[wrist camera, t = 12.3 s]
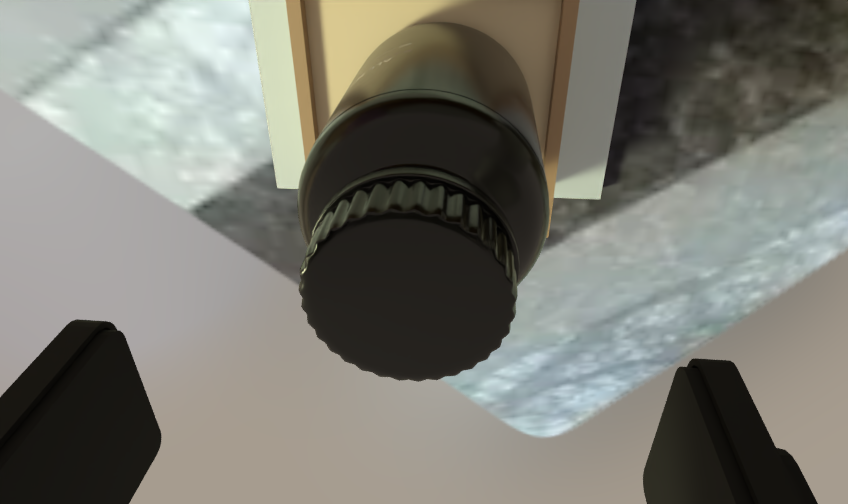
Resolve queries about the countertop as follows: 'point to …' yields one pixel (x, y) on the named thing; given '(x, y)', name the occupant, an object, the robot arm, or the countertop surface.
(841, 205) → the countertop surface
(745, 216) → the countertop surface
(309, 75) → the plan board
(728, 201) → the countertop surface
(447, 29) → the supplement bottle
